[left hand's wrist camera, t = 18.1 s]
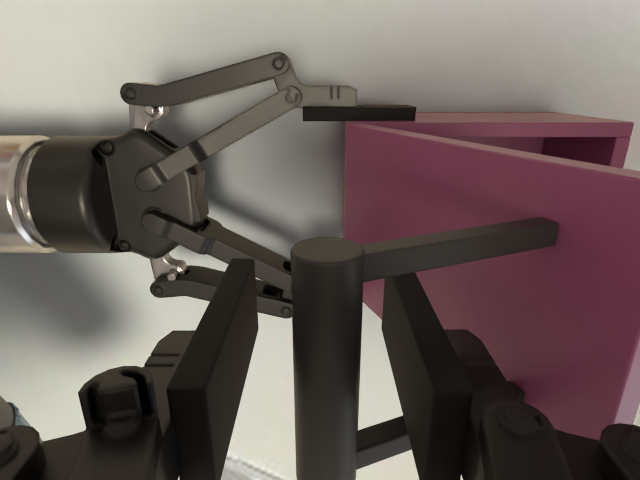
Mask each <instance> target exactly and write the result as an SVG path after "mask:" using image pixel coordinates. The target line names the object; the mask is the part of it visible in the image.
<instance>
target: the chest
mask: <svg viewBox="0 0 640 480" xmlns="http://www.w3.org/2000/svg"><path fill="white" fill-rule="evenodd" d="M354 123H363V124H369V125H375V126H381V127H386V128H392V129H398V130H404V131H409V132H415V133H421V134H427V135H432V136H438V137H444V138H450V139H455V140H461V141H467V142H473V143H478V144H484V145H490V146H496V147H501V148H507V149H513V150H519V151H524V152H530V153H536V154H542V155H547V156H553V157H559V158H565V159H570V160H576V161H582V162H588V163H593V164H599V165H605V166H611V167H616V168H622V169H623V166H624V162H625V158H626V154H627V149H628V145H629V141H630V136H631V133H632V129H633V125H634V123H633V122H626V121H619V120H611V119H603V118H595V117H587V116H579V115H571V114H563V113H556V112H416V117H415V121H345V147H344V200H343V236H344V230H345V181H346V132H347V124H354Z"/></svg>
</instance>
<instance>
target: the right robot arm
mask: <svg viewBox="0 0 640 480" xmlns="http://www.w3.org/2000/svg"><path fill="white" fill-rule="evenodd" d="M270 79H274V81H275V83H276V86H277V89H278V91H279V92H277V93H276V94H274V95H272V96H270V97H269V98H267V99H265V100H264V101H262V102H260V103H258V104H257V105H255V106H253V107H252V108H250V109H248V110H246V111H245V112H243V113H241V114H240V115H238V116H236V117H234V118H233V119H231V120H229V121H228V122H226V123H224V124H222V125H221V126H219V127H217V128H216V129H214V130H212V131H210V132H209V133H207V134H205V135H204V136H202V137H200V138H199V139H197V140H195V141H193V142H191V143H190V144H188V145H186V146H184V147H183V148H180V147H178V146H177V145H176V144H174V143H173V142H171V141H170V140H168V139H167V138H165V137H164V136H162V135H161V134H159V133H158V132H156V131H155V130H153V129H152V125H153V123H154V122H155V121H156V120H157V119H162V118H164V117H166V116H167V115H168V113H169V106H174V105H180V104H185V103H189V102H193V101H196V100H200V99H203V98H207V97H210V96H214V95H217V94H221V93H224V92H228V91H231V90H235V89H239V88H242V87H246V86H249V85H253V84H256V83H260V82H263V81H267V80H270ZM120 94H121V97H122V99H123V100H124V101H125V102H126V103H127V104H129V112H130V129H129V130H127V131H126V132H124V133H123V134H121V135H59V136H54V137H51V138H49V137H46V136H42V135H23V136H0V253H55V252H57V251H60V252H63V253H120V252H133V253H137V254H140V255H142V256H144V257H146V258H149V259H150V262H151V266H152V270H153V274H154V278H155V281H154V282H153V283H152V285H151V287H150V291H151V293H152V294H153V295H154V296H155V297H158V298H164V297H176V296H189V297H193V298H198V299H202V300H207V301H211V299H212V297H213V295H214V293H215V291H216V289H217V287H218V285H219V283H220V281H221V279H222V277H223V275H224V273H225V272H223V271H219V270H214V269H210V268H206V267H201V266H187V265H186V262H185V261H184V260H176V259H174V258H172V257H171V256H170V255H169V252H170V251H171V250H173V249H174V248H175V247H177V246H178V245H181V246H184V247H186V248H188V249H190V250H192V251H194V252H196V253H199V254H208V255H211V256H213V257H215V258H217V259H219V260H221V261H223V262H225V263H227V264H229V263H230V261H231V259H232V258H254V261H255V277H257V278H259V279H261V280H263V281H261V280H257V279H256V296H257V312H259V313H264V314H268V315H273V316H277V317H282V318H291V317H292V284H291V260H289V259H287V258H285V257H283V256H281V255H279V254H277V253H275V252H273V251H271V250H269V249H267V248H265V247H263V246H261V245H259V244H257V243H255V242H252V241H250V240H248V239H246V238H244V237H242V236H240V235H238V234H236V233H234V232H232V231H230V230H228V229H226V228H224V227H223V226H222V225H221V224H220V223H219V222H218V221H216V220H214V219H212V218H210V217H208V216H207V215H208V214H209V211H208V202H207V199H206V197H205V194H204V185H205V169H204V168H201V165H200V164H199V163H200V162H201V161H203V160H205V159H206V158H208V157H210V156H211V155H213V154H215V153H217V152H218V151H220V150H222V149H224V148H225V147H227V146H229V145H231V144H232V143H234V142H236V141H238V140H239V139H241V138H243V137H245V136H246V135H248V134H250V133H252V132H253V131H255V130H257V129H259V128H260V127H262V126H264V125H266V124H267V123H269V122H271V121H273V120H274V119H276V118H278V117H280V116H281V115H283V114H285V113H286V112H288V111H290V110H292V109H293V108H303V121H415V117H416V107H413V106H409V105H357V89H354V88H352V87H350V86H306V85H303V84H302V83H300V82H299V80H298V79H297V77H296V74H295V71H294V69H293V66H292V62H291V60H290V58H289V57H288V56H286V55H285V54H284V53H281V52H274V53H271V54H268V55H264V56H261V57H257V58H254V59H250V60H247V61H243V62H240V63H236V64H233V65H229V66H226V67H223V68H219V69H216V70H212V71H209V72H205V73H202V74H198V75H195V76H191V77H188V78H184V79H181V80H178V81H174V82H171V83H167V84H154V83H126V84H124V85H123V86H122V87H121V90H120ZM16 425H25V426H30V425H29V423H28V422H27V421H26V420H25V419H24V417H23V416H22V415H21V414H20V412H19V409H18V408H17V407H16V406H15V405H14V404H13V403H10V402H6V401H5V400H4V399H3V398H2V397H1V396H0V429H1V428H4V427H8V426H16ZM30 427H31V426H30ZM40 439H41V438H40ZM41 442H43V441H42V439H41Z"/></svg>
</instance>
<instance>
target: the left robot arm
mask: <svg viewBox="0 0 640 480" xmlns="http://www.w3.org/2000/svg"><path fill="white" fill-rule="evenodd" d="M257 332H258V314H257V296H256V279H255V261H254V258H232V259H231V261H230V263H229V265H228V267H227V269H226V271H225V273H224V275H223V277H222V279H221V281H220V283H219V285H218V287H217V289H216V291H215V293H214V295H213V297H212V299H211V301H210V303H209V305H208V307H207V309H206V311H205V313H204V315H203V317H202V319H201V321H200V323H199V325H198V327H197V329H196V331H172V332H171V333H169V334H168V335H167V336H165V337H164V338H163V339H161V340H160V341H159V342H158V344H157V345H156V347H155V348H154V350H153V352H152V353H151V356H149V358H148V360H147V361H146V363H145V366H144V367H143V368H141V367H138V366H122V367H118V368H114V369H109V370H107V371H105V372H103V373H100V374H98V375H96V376H94V377H93V378H92V379H90V380H89V381H88V382H86V383H85V384H84V385H83V387H82V388H81V389H80V391H79V392H78V395H79V399H80V403H81V407H82V411H83V416H84V420H85V424H86V430H85V431H83V432H80V433H77V434H73V435H69V436H65V437H61V438H56V439H52V440H48V441H44V442H41V439H40V435H39V432H37V431H36V430H35V429H34V428H33V427H30V426H25V425H16V426H8V427H4V428H1V429H0V480H177V479H178V477H180V480H220V479H221V475H222V471H223V467H224V463H225V459H226V455H227V451H228V447H229V444H230V440H231V436H232V432H233V428H234V424H235V420H236V416H237V412H238V408H239V404H240V400H241V396H242V392H243V388H244V384H245V380H246V376H247V372H248V368H249V364H250V360H251V356H252V352H253V348H254V344H255V340H256V336H257ZM382 332H383V336H384V340H385V344H386V348H387V352H388V356H389V360H390V364H391V368H392V372H393V376H394V380H395V384H396V388H397V392H398V396H399V400H400V404H401V408H402V412H403V416H404V420H405V424H406V428H407V432H408V436H409V440H410V444H411V448H412V452H413V455H414V459H415V463H416V467H417V471H418V475H419V479H420V480H460V477H461V475H462V477H463V480H640V427H639V426H636V425H631V424H623V423H617V424H612V425H608V426H607V427H605V428H604V429H603V430H602V432H601V435H600V439H599V440H595V439H591V438H587V437H583V436H578V435H574V434H570V433H566V432H563V431H560V430H556V429H554V427H553V425H552V424H551V422H550V421H549V419H548V418H547V417H546V416H545V415H544V414H543V413H541V412H540V411H539V410H538V409H536V408H535V407H533V406H531V405H529V404H527V403H525V402H521V401H519V399H518V398H517V396H516V395H515V393H514V391H513V390H512V388H511V387H510V385H509V383H508V382H507V380H506V379H505V377H504V375H503V374H502V372H501V371H500V369H499V367H498V366H497V365H496V363H495V361H494V359H493V358H492V356H491V355H489V351H488V350H487V348H486V347H485V345H484V343H483V342H482V340H481V339H479V338H478V337H477V336H475V335H474V334H473V333H471V332H470V331H469V330H467V329H443V327H442V325H441V323H440V321H439V319H438V317H437V315H436V313H435V311H434V309H433V307H432V305H431V303H430V301H429V299H428V297H427V295H426V293H425V291H424V289H423V287H422V285H421V283H420V281H419V279H418V277H417V275H416V273H409V274H404V275H399V276H394V277H388V278H385V279H384V296H383V314H382Z"/></svg>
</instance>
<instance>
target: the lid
mask: <svg viewBox="0 0 640 480" xmlns="http://www.w3.org/2000/svg"><path fill="white" fill-rule="evenodd" d="M409 273H416V275H417V277H418V279H419V281H420V283H421V285H422V287H423V289H424V291H425V293H426V295H427V297H428V299H429V301H430V303H431V305H432V307H433V309H434V311H435V313H436V315H437V317H438V319H439V321H440V323H441V325H442V327H443V329H467V330H469V331H470V332H471V333H473V334H474V335H475V336H477V337H478V338H479V339H481V340H482V342H483V343H484V345H485V347H486V348H487V350H488V351H489V355H491V356H492V358H493V359H494V361H495V363H496V365H497V366H498V367H499V369H500V371H501V372H502V374H503V375H504V377H505V379H506V380H507V382H508V383H509V385H510V387H511V388H512V390H513V391H514V393H515V395H516V396H517V398H518V399H519V401H521V402H525V403H527V404H529V405H531V406H533V407H535V408H536V409H538V410H539V411H540V412H541V413H543V414H544V415H545V416H546V417H547V418H548V419H549V421H550V422H551V424H552V425H553V427H554V429H556V430H560V431H563V432H566V433H570V434H574V435H578V436H583V437H587V438H591V439H595V440H599V439H600V435H601V432H602V430H603V429H604V428H605V427H607V426H608V425H612V424H617V423H623V424H631V425H632V424H633V421H634V418H635V415H636V412H637V409H638V406H639V402H640V172H639V171H634V170H628V169H622V168H616V167H611V166H605V165H599V164H593V163H588V162H582V161H576V160H570V159H565V158H559V157H553V156H547V155H542V154H536V153H530V152H524V151H519V150H513V149H507V148H501V147H496V146H490V145H484V144H478V143H473V142H467V141H461V140H455V139H450V138H444V137H438V136H432V135H427V134H421V133H415V132H409V131H404V130H398V129H392V128H386V127H381V126H375V125H369V124H363V123H354V124H347V132H346V181H345V230H344V239H342V238H335V237H319V238H312V239H307V240H304V241H301V242H299V243H297V244H295V245H294V246H293V247H292V249H291V284H292V323H293V361H294V399H295V438H296V476H297V480H355V479H356V470H357V469H359V468H362V467H365V466H368V465H370V464H373V463H376V462H379V461H381V460H384V459H387V458H389V457H392V456H395V455H398V454H400V453H403V452H406V451H408V450H411V449H412V448H411V444H410V440H409V436H408V432H407V428H406V424H405V420H404V416H401V417H398V418H395V419H392V420H388V421H385V422H382V423H379V424H376V425H373V426H370V427H367V428H364V429H361V430H358V408H359V382H360V355H361V329H362V303H363V302H364V303H365V304H366V305H367V306H368V307H369V308H370V309H371V310H372V311H373V312H374V313H375V314H376V315H377V316H379V317H380V318H381V319H382V314H383V296H384V279H385V278H388V277H394V276H399V275H404V274H409Z"/></svg>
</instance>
